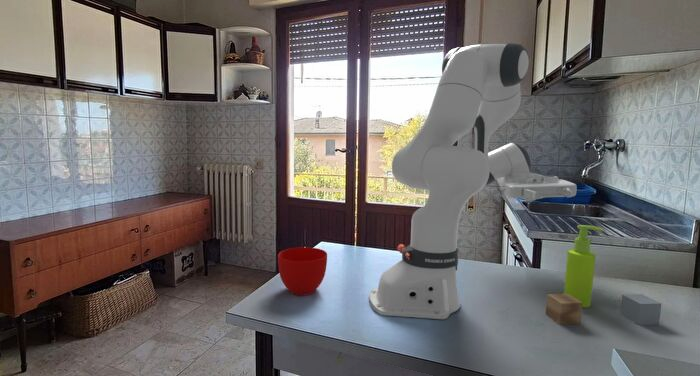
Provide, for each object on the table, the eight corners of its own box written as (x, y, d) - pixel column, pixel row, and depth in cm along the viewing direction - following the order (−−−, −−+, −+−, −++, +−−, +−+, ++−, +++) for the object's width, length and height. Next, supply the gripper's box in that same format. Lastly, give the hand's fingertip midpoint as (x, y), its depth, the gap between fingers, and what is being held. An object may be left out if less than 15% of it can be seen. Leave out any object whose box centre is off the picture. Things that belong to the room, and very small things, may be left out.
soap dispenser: (595, 310, 88) (604, 229, 86) (562, 303, 92) (570, 226, 89) (594, 302, 93) (602, 225, 91) (563, 295, 97) (570, 222, 94)
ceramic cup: (337, 279, 105) (338, 245, 104) (316, 303, 89) (316, 264, 88) (296, 274, 109) (296, 241, 108) (268, 296, 93) (268, 258, 91)
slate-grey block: (638, 325, 82) (640, 303, 81) (620, 314, 86) (622, 294, 86) (658, 324, 82) (661, 303, 81) (639, 314, 87) (641, 294, 86)
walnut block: (559, 324, 81) (561, 303, 80) (545, 314, 86) (547, 294, 85) (580, 324, 81) (582, 302, 81) (565, 313, 86) (567, 293, 86)
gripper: (497, 177, 116) (518, 185, 102) (560, 175, 116) (589, 182, 103) (496, 197, 117) (516, 206, 103) (559, 195, 117) (587, 204, 104)
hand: (553, 194), depth 103 cm, fingers open, 8 cm apart
